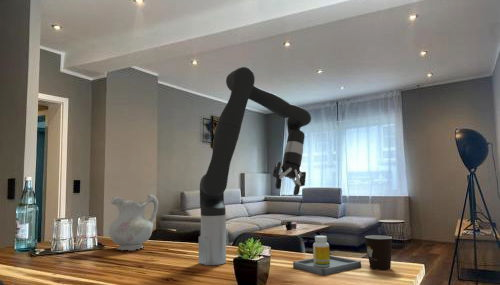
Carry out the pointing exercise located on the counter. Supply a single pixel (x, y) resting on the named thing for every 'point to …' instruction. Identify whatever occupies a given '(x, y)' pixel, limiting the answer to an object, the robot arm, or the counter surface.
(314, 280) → the counter surface
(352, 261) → the tray
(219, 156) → the robot arm
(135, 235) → the ceramic pitcher
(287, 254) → the counter surface
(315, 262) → the supplement bottle
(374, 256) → the coffee mug
